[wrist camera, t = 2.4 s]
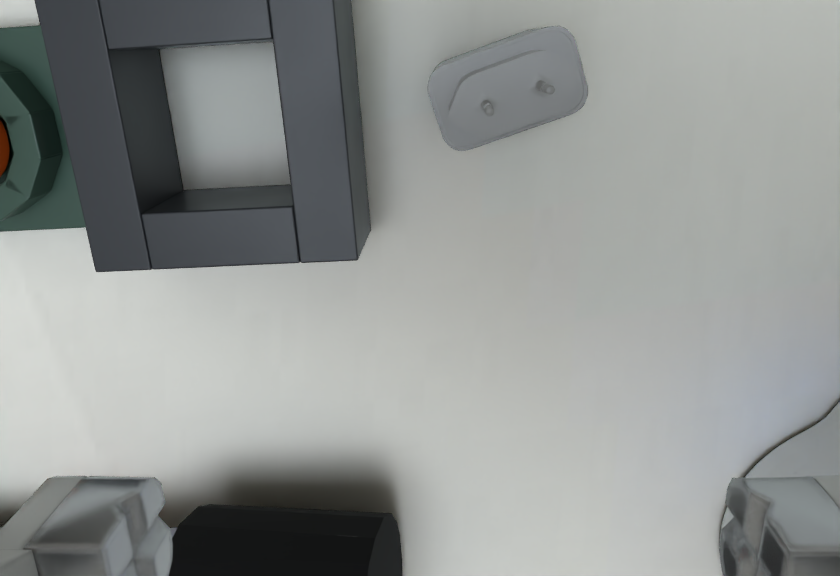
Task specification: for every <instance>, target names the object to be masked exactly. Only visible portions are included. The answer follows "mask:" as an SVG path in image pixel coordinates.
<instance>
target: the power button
mask: <svg viewBox="0 0 840 576" xmlns="http://www.w3.org/2000/svg"><path fill="white" fill-rule="evenodd" d="M9 153H10V148H9V140H8V136H7V133H6V130H5V128H4V125H3V123H2V122H1V120H0V177H1V176H2V174H3V173H4V171H5V169H6V167H7V164H8V160H9Z"/></svg>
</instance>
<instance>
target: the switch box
mask: <svg viewBox="0 0 840 576" xmlns="http://www.w3.org/2000/svg"><path fill="white" fill-rule="evenodd" d="M0 120H1V122H2V123H3V125H4V128H5V130H6V133H7V136H8V140H9V148H10V153H9V160H8V164H7V167H6V169H5V171H4V173H3V174H2V176H1V177H0V232H2V231H23V230H43V229H63V228H83V227H86V226H85V221H84V217H83V212H82V208H81V204H80V199H79V195H78V190H77V186H76V181H75V177H74V172H73V168H72V164H71V159H70V155H69V150H68V146H67V141H66V137H65V133H64V128H63V124H62V119H61V115H60V110H59V106H58V101H57V97H56V93H55V88H54V84H53V79H52V75H51V70H50V66H49V62H48V57H47V53H46V48H45V44H44V39H43V35H42V30H41V26H40V25H38V26H23V27H8V28H0Z"/></svg>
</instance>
